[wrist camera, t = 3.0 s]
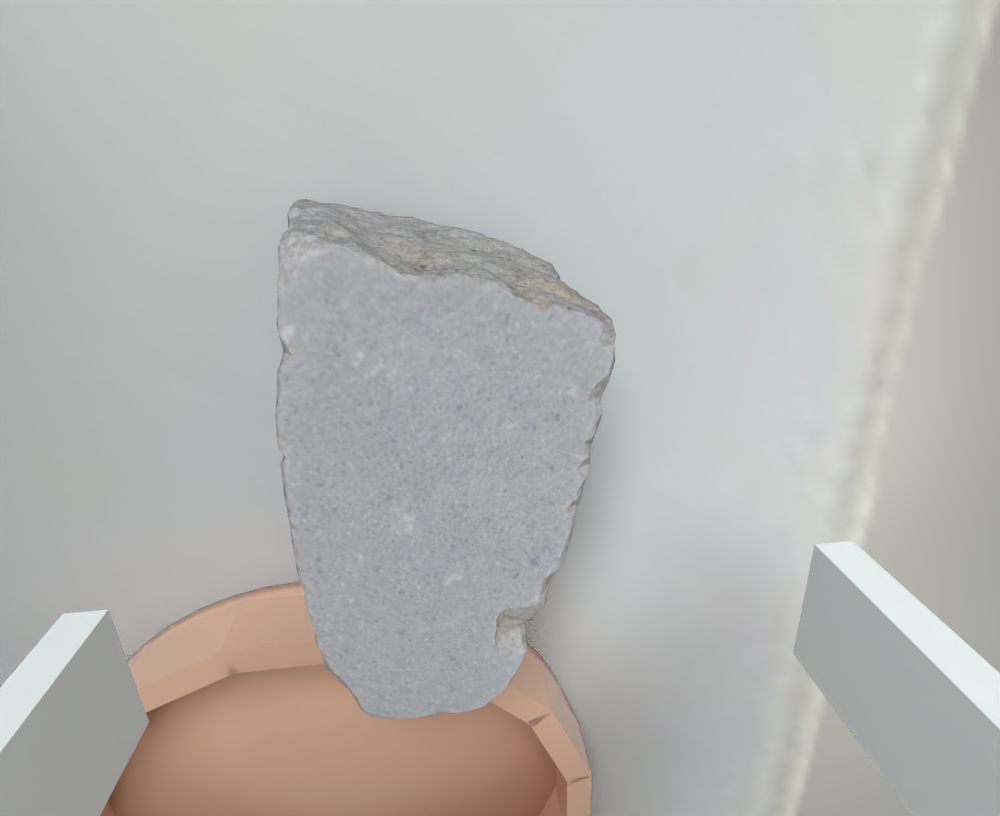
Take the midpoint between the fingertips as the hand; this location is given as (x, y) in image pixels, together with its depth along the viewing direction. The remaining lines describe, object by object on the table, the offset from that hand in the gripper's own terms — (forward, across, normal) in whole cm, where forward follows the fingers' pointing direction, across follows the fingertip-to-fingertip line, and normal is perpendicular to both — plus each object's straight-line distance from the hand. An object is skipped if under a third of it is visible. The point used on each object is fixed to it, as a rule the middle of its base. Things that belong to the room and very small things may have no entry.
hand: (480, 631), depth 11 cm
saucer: (+10, -6, -17) cm, 20 cm away
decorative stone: (+10, -1, +1) cm, 10 cm away
